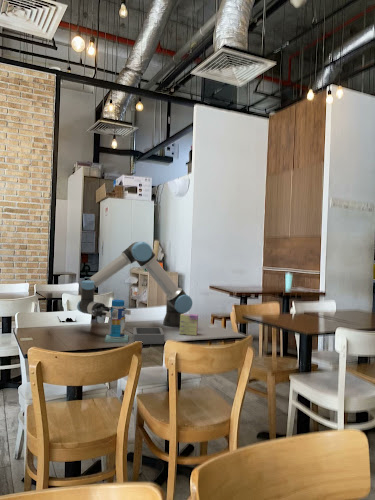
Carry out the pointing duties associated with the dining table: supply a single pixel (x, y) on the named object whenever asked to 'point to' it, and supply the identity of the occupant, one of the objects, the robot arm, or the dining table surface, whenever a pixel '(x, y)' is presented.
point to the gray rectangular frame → (148, 335)
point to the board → (116, 339)
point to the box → (189, 324)
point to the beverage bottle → (117, 319)
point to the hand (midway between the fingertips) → (120, 313)
